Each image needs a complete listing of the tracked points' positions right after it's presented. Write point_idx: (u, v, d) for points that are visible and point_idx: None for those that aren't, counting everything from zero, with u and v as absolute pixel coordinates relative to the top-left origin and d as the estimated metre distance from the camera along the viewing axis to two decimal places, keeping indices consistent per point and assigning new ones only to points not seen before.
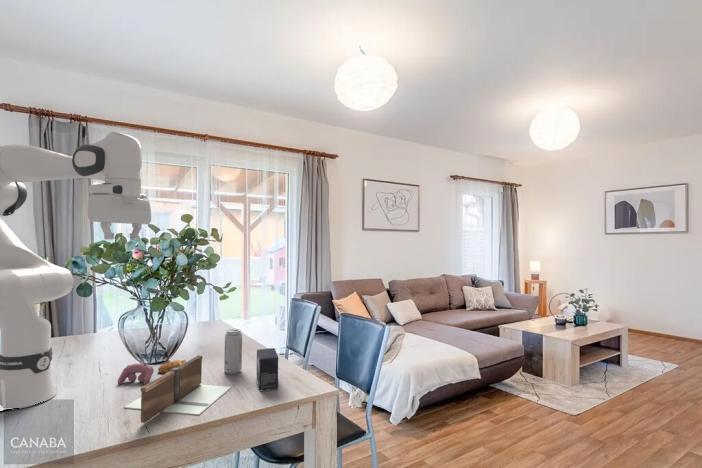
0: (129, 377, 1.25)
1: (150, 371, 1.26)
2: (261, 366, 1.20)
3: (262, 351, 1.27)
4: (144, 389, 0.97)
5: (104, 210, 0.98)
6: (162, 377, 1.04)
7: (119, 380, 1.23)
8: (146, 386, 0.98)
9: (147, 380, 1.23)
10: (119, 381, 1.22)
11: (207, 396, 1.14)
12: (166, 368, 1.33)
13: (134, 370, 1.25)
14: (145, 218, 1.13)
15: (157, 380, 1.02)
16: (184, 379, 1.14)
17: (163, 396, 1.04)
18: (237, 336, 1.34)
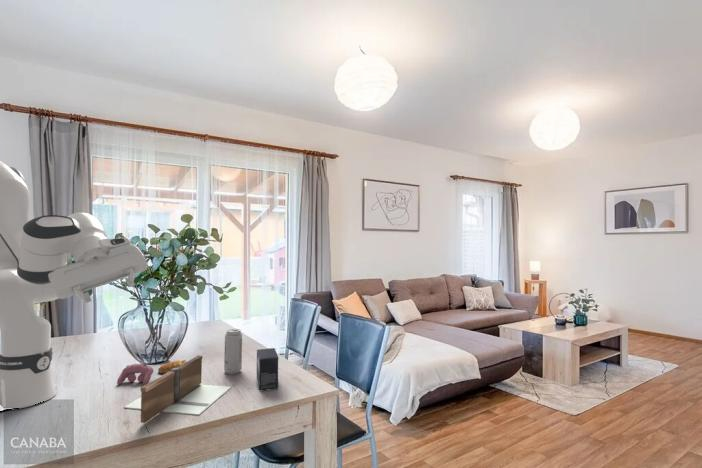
0: (129, 377, 1.25)
1: (150, 371, 1.25)
2: (261, 366, 1.20)
3: (262, 351, 1.27)
4: (144, 389, 0.97)
5: None
6: (162, 377, 1.04)
7: (118, 380, 1.22)
8: (146, 386, 0.98)
9: (147, 380, 1.23)
10: (118, 381, 1.22)
11: (207, 396, 1.14)
12: (166, 368, 1.33)
13: (134, 370, 1.25)
14: None
15: (157, 380, 1.02)
16: (184, 379, 1.14)
17: (163, 396, 1.04)
18: (237, 336, 1.34)
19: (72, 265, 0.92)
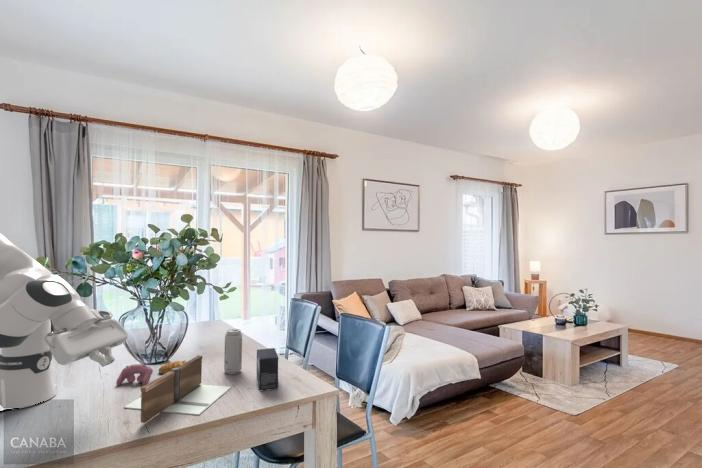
0: (128, 378, 1.25)
1: (149, 372, 1.25)
2: (261, 366, 1.20)
3: (262, 351, 1.27)
4: (144, 389, 0.97)
5: None
6: (162, 377, 1.04)
7: (118, 381, 1.22)
8: (146, 386, 0.98)
9: (146, 381, 1.23)
10: (118, 382, 1.22)
11: (207, 396, 1.14)
12: (167, 369, 1.33)
13: (133, 371, 1.24)
14: None
15: (157, 380, 1.02)
16: (184, 379, 1.14)
17: (163, 396, 1.04)
18: (237, 336, 1.34)
19: (71, 332, 0.97)
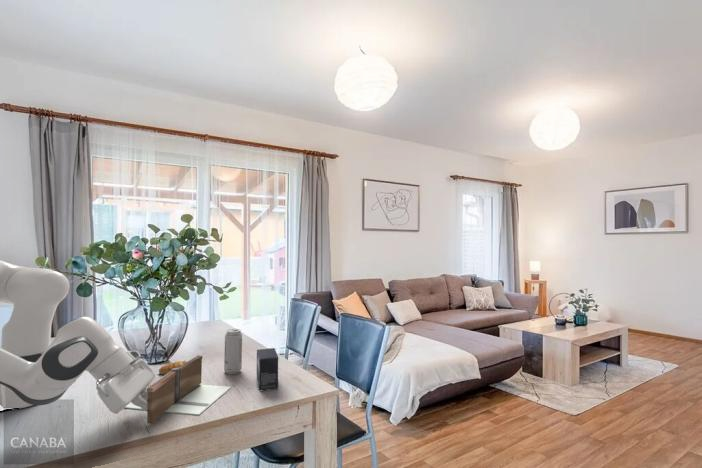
0: None
1: None
2: (261, 366, 1.20)
3: (262, 351, 1.27)
4: (150, 389, 0.97)
5: None
6: (165, 377, 1.04)
7: None
8: (152, 386, 0.98)
9: None
10: None
11: (207, 396, 1.14)
12: (167, 369, 1.32)
13: None
14: None
15: (161, 380, 1.02)
16: (184, 379, 1.14)
17: (166, 396, 1.04)
18: (237, 336, 1.34)
19: (117, 377, 0.94)
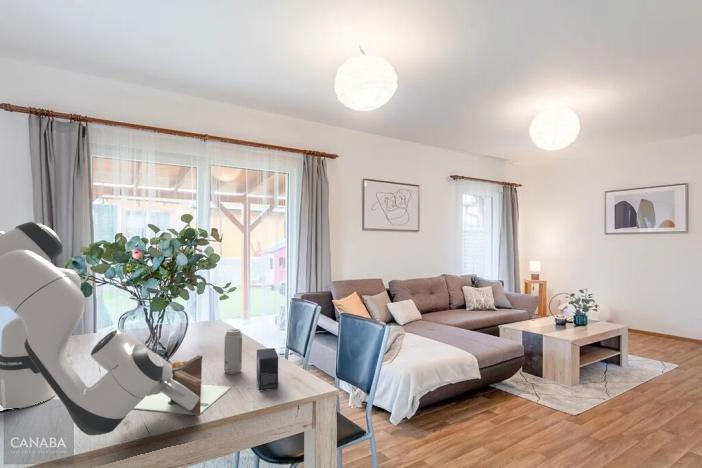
0: None
1: None
2: (261, 366, 1.20)
3: (262, 351, 1.27)
4: (199, 382, 1.02)
5: None
6: (186, 374, 1.07)
7: None
8: (197, 380, 1.03)
9: None
10: None
11: (207, 396, 1.14)
12: None
13: None
14: None
15: (190, 376, 1.05)
16: None
17: None
18: (237, 336, 1.34)
19: (174, 380, 0.94)
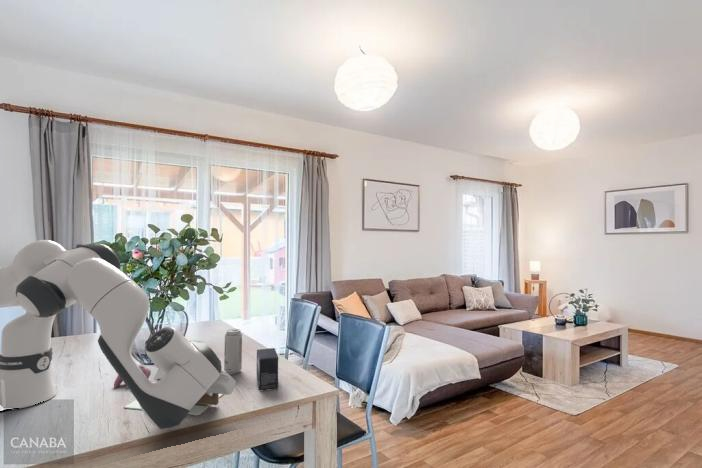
0: None
1: (147, 373, 1.23)
2: (261, 366, 1.20)
3: (262, 351, 1.27)
4: None
5: None
6: None
7: (115, 383, 1.20)
8: None
9: None
10: (115, 384, 1.20)
11: None
12: None
13: None
14: (220, 392, 1.00)
15: None
16: None
17: None
18: (237, 336, 1.34)
19: None
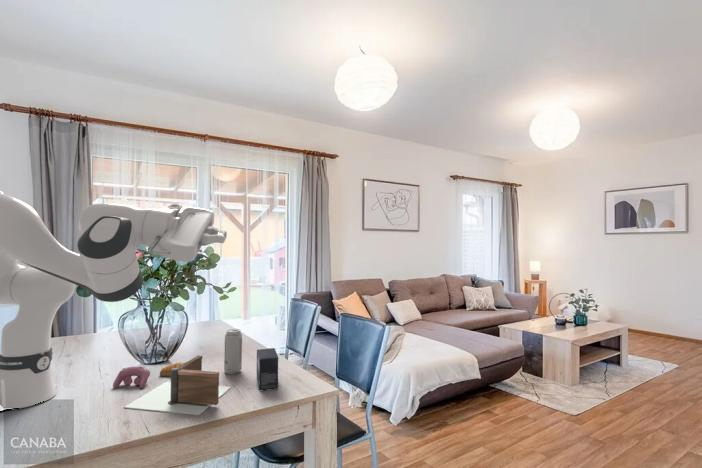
0: (125, 380, 1.23)
1: (146, 374, 1.23)
2: (261, 366, 1.20)
3: (262, 351, 1.27)
4: (218, 374, 1.09)
5: None
6: (194, 371, 1.10)
7: (114, 383, 1.20)
8: (215, 372, 1.09)
9: (143, 383, 1.21)
10: (114, 385, 1.20)
11: None
12: (169, 371, 1.31)
13: (130, 373, 1.22)
14: None
15: (201, 371, 1.09)
16: None
17: None
18: (237, 336, 1.34)
19: (167, 233, 0.81)
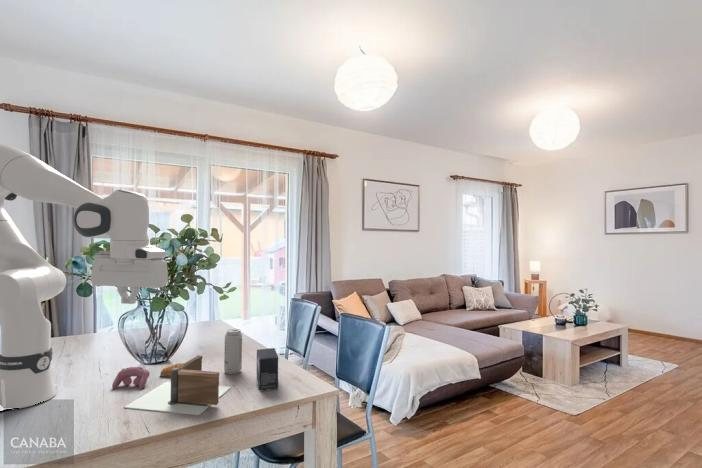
0: (124, 381, 1.22)
1: (146, 375, 1.22)
2: (261, 366, 1.20)
3: (262, 351, 1.27)
4: (218, 374, 1.09)
5: None
6: (194, 371, 1.10)
7: (114, 384, 1.19)
8: (215, 372, 1.09)
9: (143, 384, 1.20)
10: (114, 385, 1.19)
11: None
12: (170, 371, 1.30)
13: (129, 374, 1.22)
14: None
15: (201, 371, 1.09)
16: None
17: None
18: (237, 336, 1.34)
19: (107, 260, 0.99)
